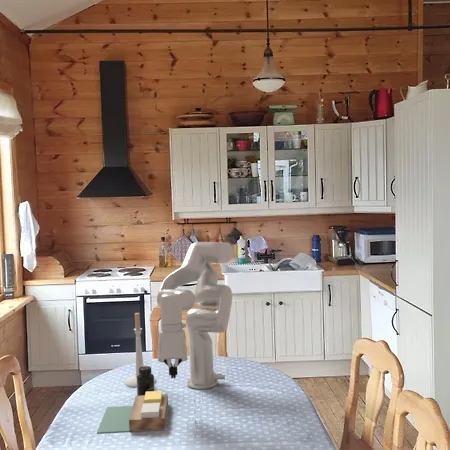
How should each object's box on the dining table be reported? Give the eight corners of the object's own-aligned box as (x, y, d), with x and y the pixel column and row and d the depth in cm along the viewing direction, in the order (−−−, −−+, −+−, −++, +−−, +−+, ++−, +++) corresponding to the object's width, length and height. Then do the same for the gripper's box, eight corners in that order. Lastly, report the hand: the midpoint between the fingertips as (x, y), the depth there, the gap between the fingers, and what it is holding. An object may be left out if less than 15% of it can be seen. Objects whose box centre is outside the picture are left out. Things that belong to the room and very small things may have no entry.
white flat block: (160, 408, 207) (160, 402, 207) (158, 417, 199) (158, 411, 199) (143, 408, 207) (143, 403, 207) (141, 418, 199) (140, 412, 199)
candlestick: (120, 381, 248) (116, 311, 245) (147, 375, 255) (144, 307, 252) (132, 390, 237) (129, 317, 235) (161, 383, 244) (157, 312, 242)
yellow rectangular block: (162, 395, 219) (162, 390, 219) (160, 404, 211) (160, 398, 211) (146, 396, 219) (145, 391, 218) (144, 405, 211) (143, 399, 210)
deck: (168, 404, 221) (167, 394, 220) (165, 429, 199) (164, 418, 199) (136, 406, 220) (135, 395, 220) (129, 431, 198) (128, 420, 198)
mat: (139, 406, 220) (139, 405, 220) (132, 431, 198) (132, 430, 198) (107, 407, 220) (106, 407, 220) (96, 433, 198) (96, 432, 198)
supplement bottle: (151, 401, 224) (150, 371, 223) (134, 400, 226) (133, 370, 225) (157, 394, 231) (156, 365, 230) (140, 394, 232) (139, 364, 231)
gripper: (192, 324, 217) (194, 373, 218) (151, 325, 216) (153, 374, 217) (192, 328, 209) (193, 379, 210) (150, 330, 209) (152, 381, 210)
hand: (173, 376), depth 214 cm, fingers closed
